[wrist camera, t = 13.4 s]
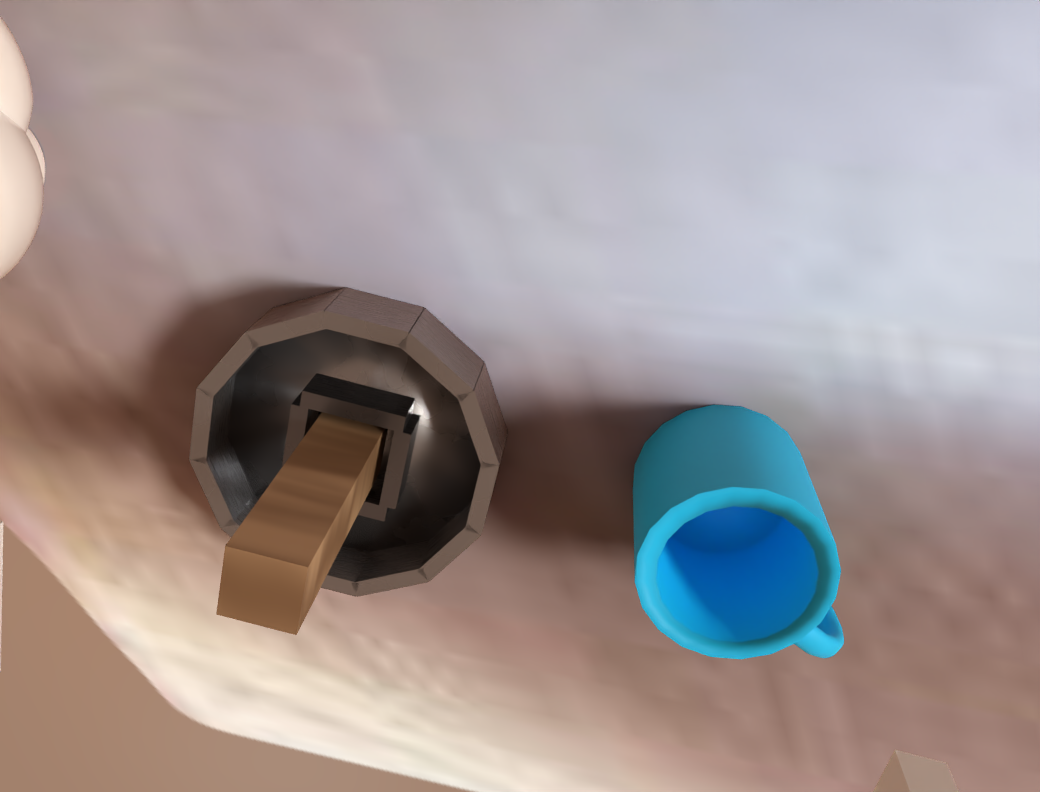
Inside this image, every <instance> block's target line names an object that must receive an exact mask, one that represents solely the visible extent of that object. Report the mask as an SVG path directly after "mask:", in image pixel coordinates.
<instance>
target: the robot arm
mask: <svg viewBox="0 0 1040 792" xmlns="http://www.w3.org/2000/svg"><path fill="white" fill-rule="evenodd" d="M2 563H3V521H0V672H1V623H2V621H1V619H2V565H3V564H2ZM873 792H959V790H958V788H957V786H956V783H955V781H954V779H953V776H952V774H951V771H950V769H949V767H948V764H947V763H945V762H941V761H937V760H933V759H929V758H925V757H922V756H918V755H914V754H910V753H906V752H902V751H898V750H894V752H893V754H892V756H891V758H890V760H889V762H888V764H887V766H886V768H885V770H884V772H883V774H882V776H881V778H880V780H879V782H878V783H877V785H876V787H875V789H874V791H873Z"/></svg>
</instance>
